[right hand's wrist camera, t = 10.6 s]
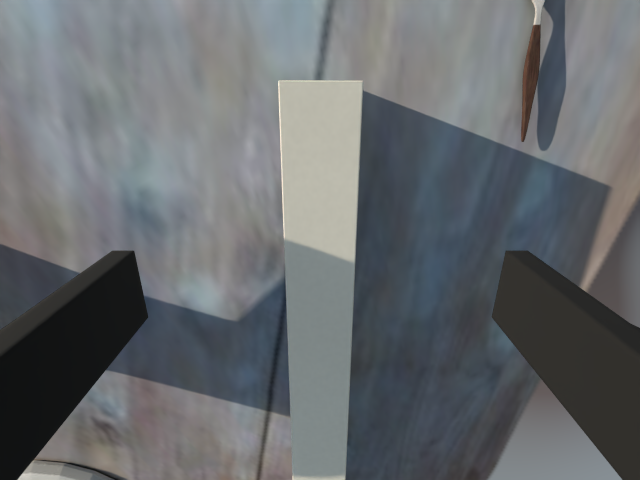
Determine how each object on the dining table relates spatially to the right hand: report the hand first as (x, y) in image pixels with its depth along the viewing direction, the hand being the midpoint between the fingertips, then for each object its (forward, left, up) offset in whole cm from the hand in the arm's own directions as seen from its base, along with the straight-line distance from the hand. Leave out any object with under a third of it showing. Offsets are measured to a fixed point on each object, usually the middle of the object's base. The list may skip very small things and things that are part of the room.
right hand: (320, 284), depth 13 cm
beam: (+6, +18, -22) cm, 29 cm away
